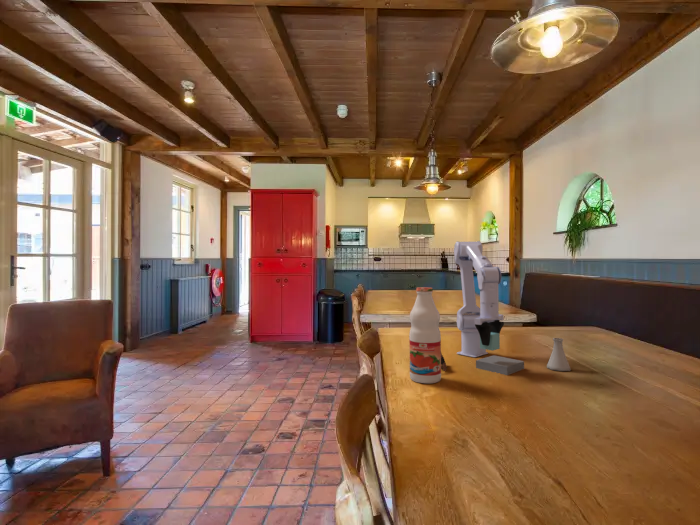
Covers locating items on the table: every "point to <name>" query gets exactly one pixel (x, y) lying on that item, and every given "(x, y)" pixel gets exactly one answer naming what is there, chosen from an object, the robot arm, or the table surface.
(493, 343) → the teal block
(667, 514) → the table surface
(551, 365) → the flask
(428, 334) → the fruit juice
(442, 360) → the brown broken pot
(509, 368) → the gray base
